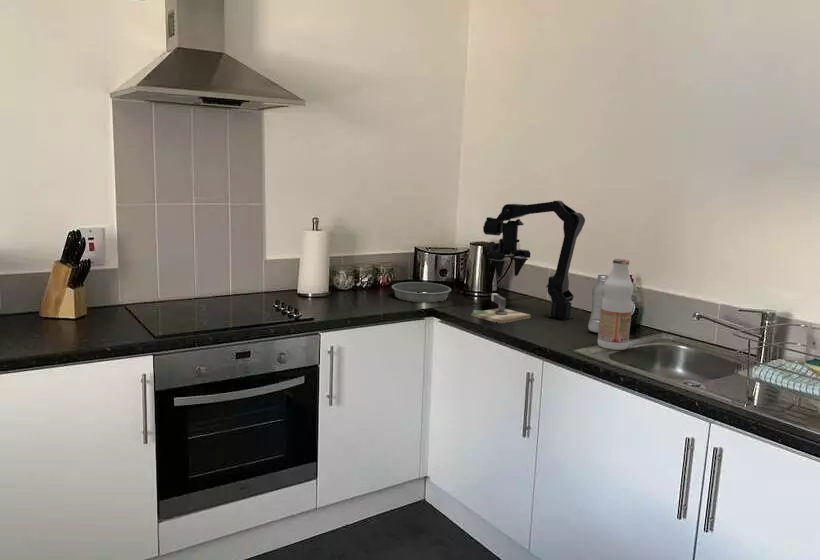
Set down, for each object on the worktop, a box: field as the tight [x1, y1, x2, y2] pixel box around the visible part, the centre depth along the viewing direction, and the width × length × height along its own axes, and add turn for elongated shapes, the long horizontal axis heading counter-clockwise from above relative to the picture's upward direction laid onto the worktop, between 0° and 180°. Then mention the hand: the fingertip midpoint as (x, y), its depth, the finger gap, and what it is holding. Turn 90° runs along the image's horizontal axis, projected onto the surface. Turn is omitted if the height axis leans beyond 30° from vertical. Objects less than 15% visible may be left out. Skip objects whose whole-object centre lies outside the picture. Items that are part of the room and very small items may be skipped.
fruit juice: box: [597, 258, 635, 351], centre depth 217 cm, size 9×9×28 cm
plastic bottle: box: [587, 274, 609, 334], centre depth 235 cm, size 6×7×20 cm
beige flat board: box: [470, 308, 531, 324], centre depth 254 cm, size 16×18×2 cm
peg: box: [490, 292, 507, 311], centre depth 256 cm, size 11×2×4 cm, turn 13°
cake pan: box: [391, 281, 452, 303], centre depth 283 cm, size 25×25×4 cm
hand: (507, 276), depth 267 cm, fingers open, 9 cm apart
